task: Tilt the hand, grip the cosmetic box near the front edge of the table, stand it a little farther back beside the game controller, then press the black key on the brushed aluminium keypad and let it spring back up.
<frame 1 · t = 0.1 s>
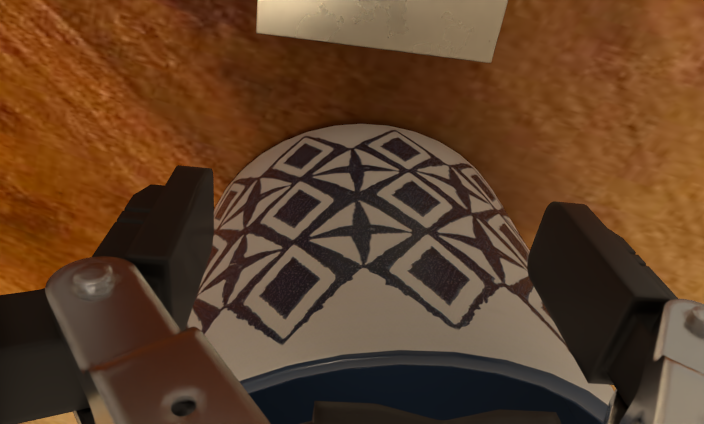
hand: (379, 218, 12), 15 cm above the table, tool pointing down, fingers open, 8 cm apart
planter: (356, 255, 31), on the table
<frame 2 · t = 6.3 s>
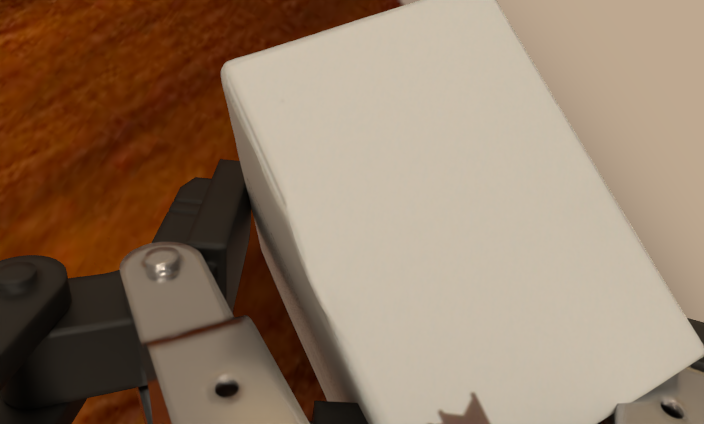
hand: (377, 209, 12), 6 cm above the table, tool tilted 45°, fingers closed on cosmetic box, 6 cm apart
cosmetic box: (346, 296, 18), on the table, touching gripper
when the fingers open (6 cm above the table, at t = 13.9 s): cosmetic box stays where it is, on the table.
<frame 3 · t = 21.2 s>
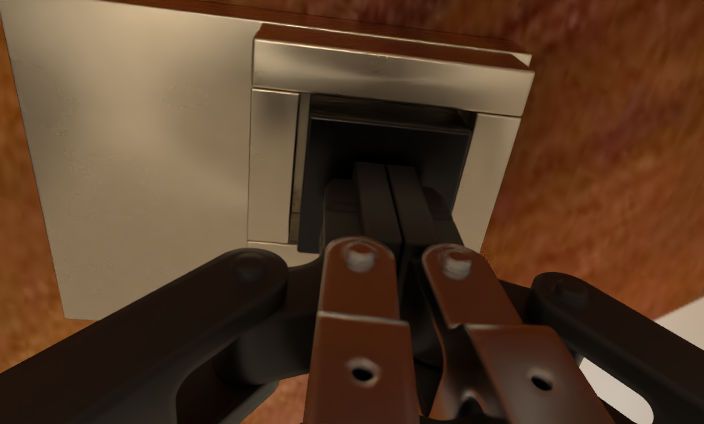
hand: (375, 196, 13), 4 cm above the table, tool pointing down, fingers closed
key: (375, 178, 14), point 3 cm above the table, slide at -0.8 cm, touching gripper
keypad: (273, 179, 17), on the table
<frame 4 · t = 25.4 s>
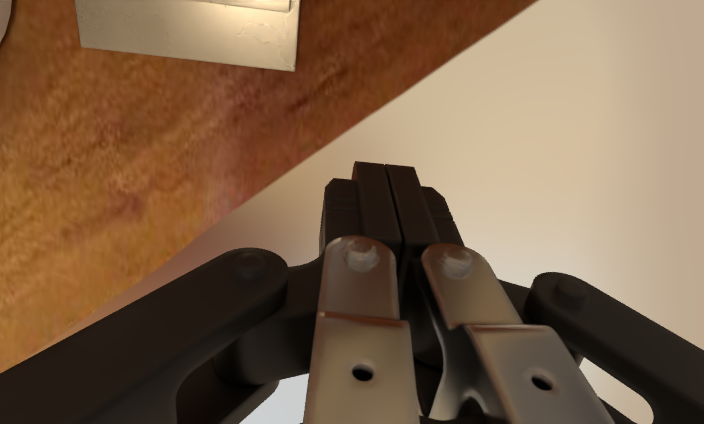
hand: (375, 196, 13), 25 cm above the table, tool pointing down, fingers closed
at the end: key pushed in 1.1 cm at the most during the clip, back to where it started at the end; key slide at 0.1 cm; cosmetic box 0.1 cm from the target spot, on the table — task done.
